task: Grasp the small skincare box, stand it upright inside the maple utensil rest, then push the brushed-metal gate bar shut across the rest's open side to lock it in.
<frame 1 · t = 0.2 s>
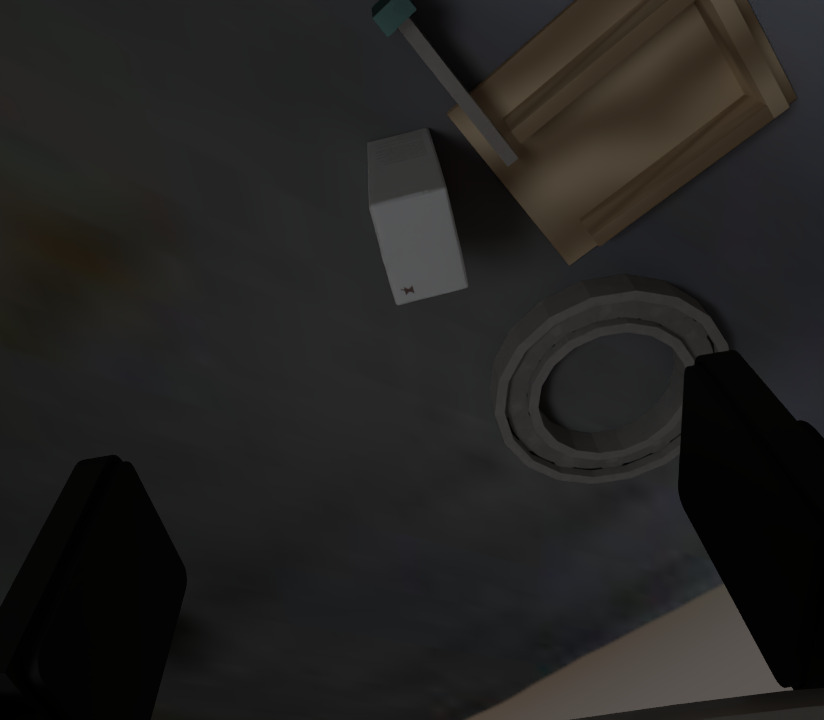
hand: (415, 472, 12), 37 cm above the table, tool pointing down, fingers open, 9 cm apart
mechanical component: (600, 373, 57), on the table
skincare box: (408, 175, 46), on the table
gate: (452, 84, 40), point 3 cm above the table, slide at 8.0 cm
rest: (648, 91, 44), on the table
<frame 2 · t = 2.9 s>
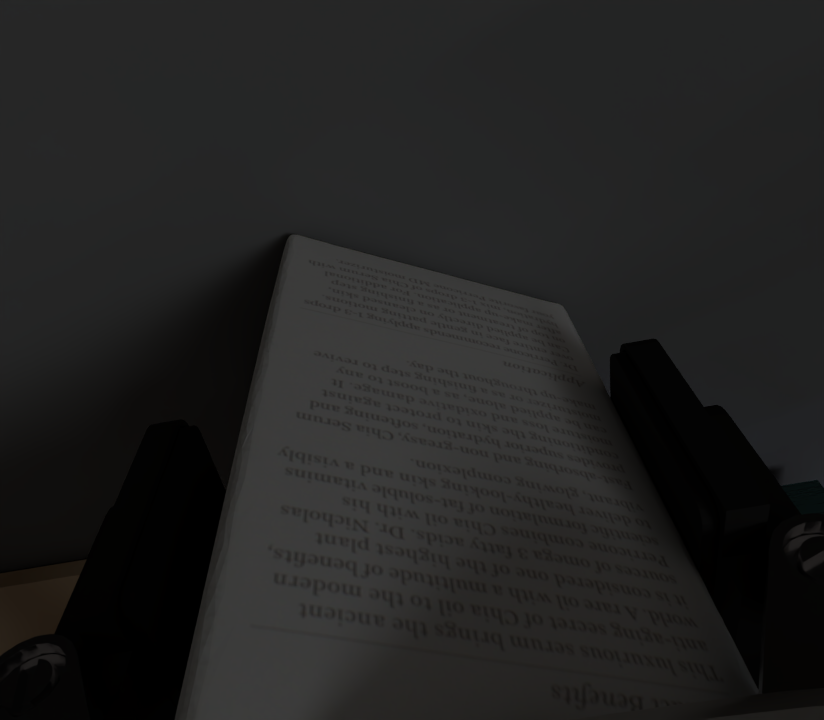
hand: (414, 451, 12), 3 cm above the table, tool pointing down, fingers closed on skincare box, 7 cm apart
skincare box: (406, 347, 15), on the table, touching gripper
gate: (603, 623, 16), point 3 cm above the table, slide at 8.0 cm
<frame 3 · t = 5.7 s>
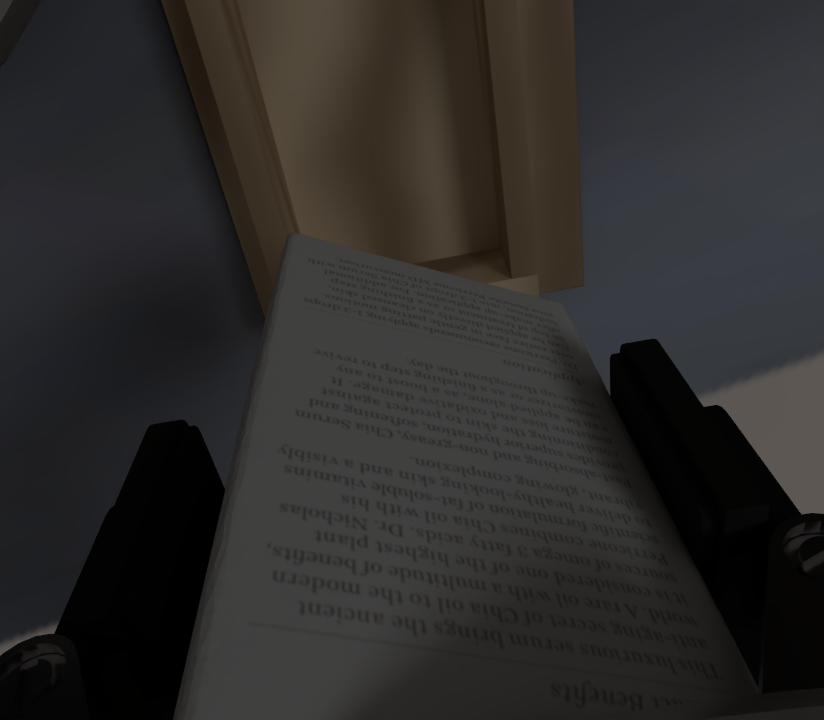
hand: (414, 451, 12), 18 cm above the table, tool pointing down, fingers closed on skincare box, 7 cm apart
skincare box: (405, 346, 15), point 14 cm above the table, touching gripper
rest: (385, 156, 27), on the table
when the fingers open (6 cm above the table, at t = 8.4 s): skincare box drops 2 cm, resting on rest.
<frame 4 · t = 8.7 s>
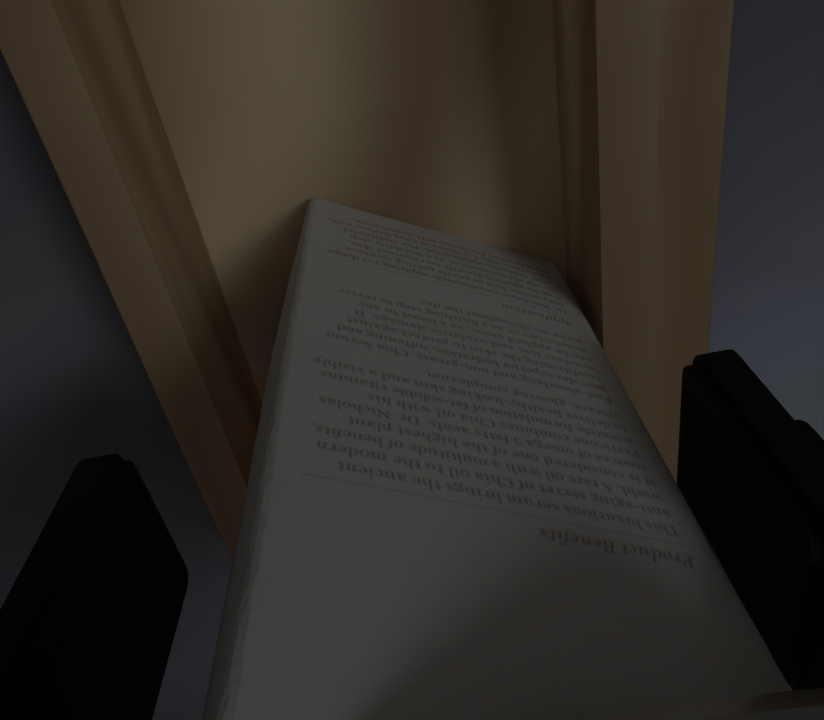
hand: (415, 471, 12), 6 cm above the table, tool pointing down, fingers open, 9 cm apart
skincare box: (414, 303, 17), resting on rest
rest: (400, 300, 17), on the table
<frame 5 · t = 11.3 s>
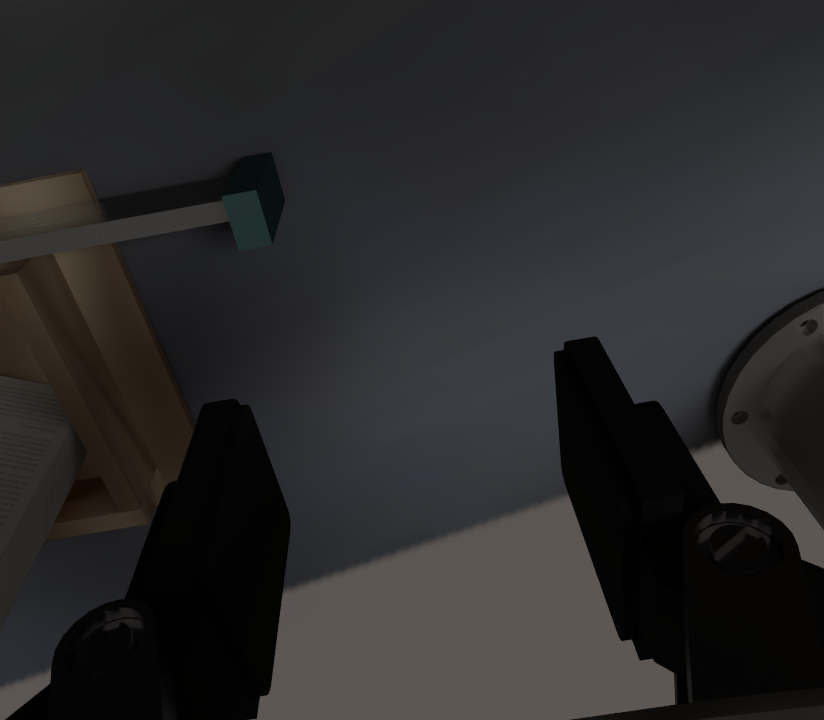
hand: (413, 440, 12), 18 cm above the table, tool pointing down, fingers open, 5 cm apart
skincare box: (30, 410, 33), resting on rest
gate: (120, 223, 26), point 3 cm above the table, slide at 8.0 cm
rest: (26, 408, 34), on the table
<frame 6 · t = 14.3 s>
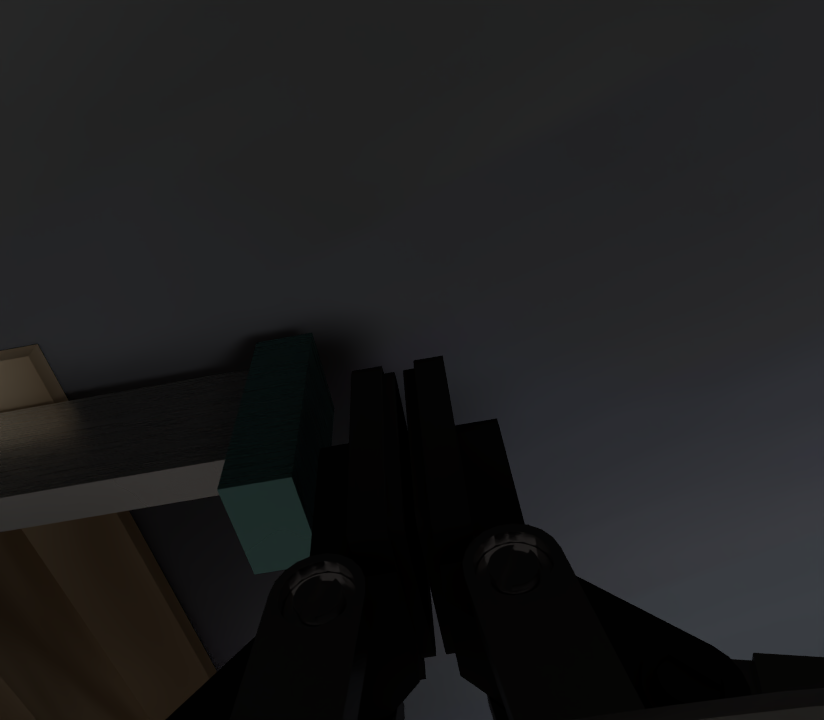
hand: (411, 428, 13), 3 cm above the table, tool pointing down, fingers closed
gate: (26, 486, 14), point 3 cm above the table, slide at 6.5 cm, touching gripper
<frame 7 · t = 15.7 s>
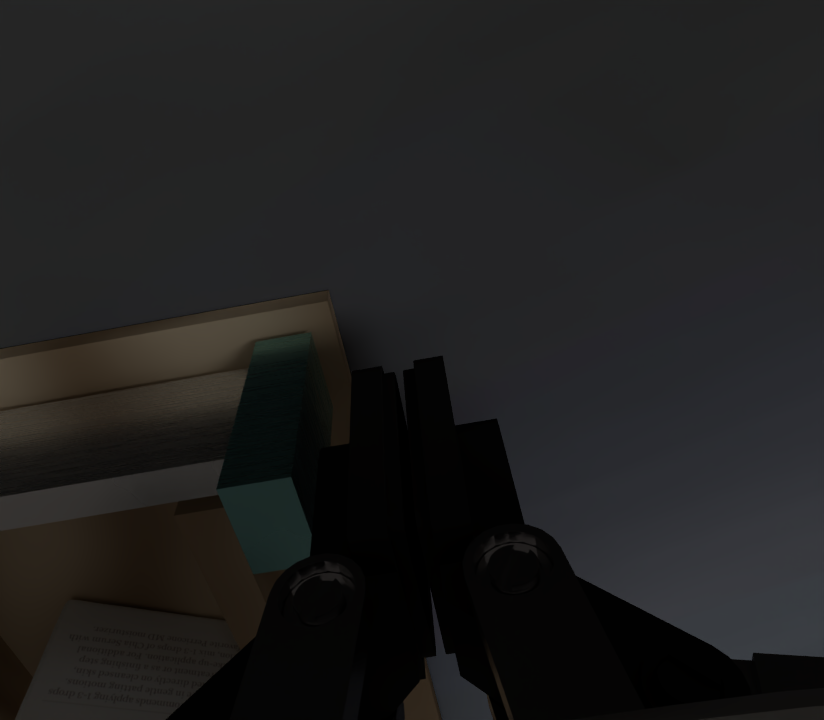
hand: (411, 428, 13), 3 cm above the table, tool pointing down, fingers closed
skincare box: (174, 648, 21), resting on rest
gate: (24, 485, 14), point 3 cm above the table, slide at -0.1 cm, touching gripper
rest: (166, 641, 21), on the table
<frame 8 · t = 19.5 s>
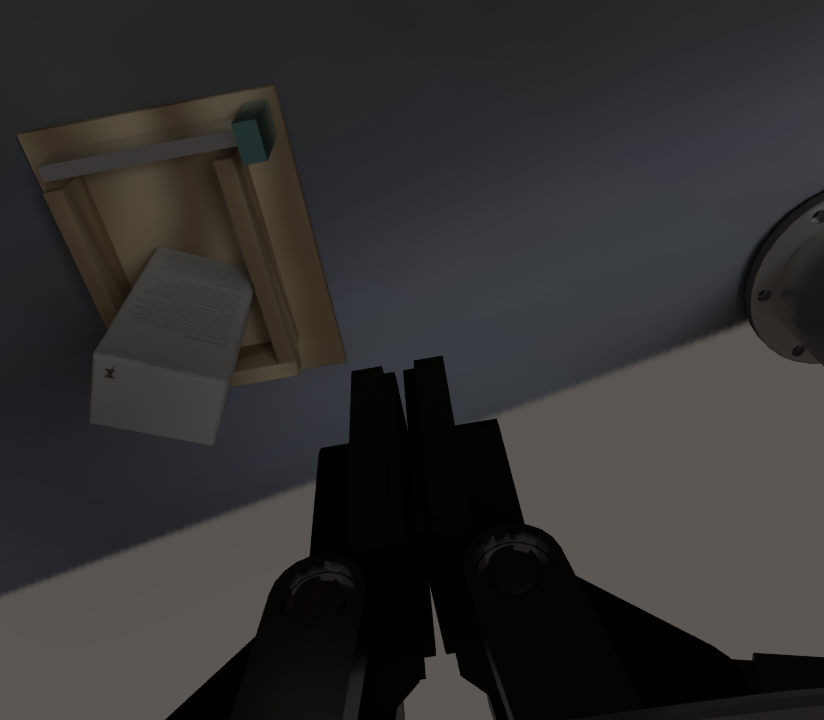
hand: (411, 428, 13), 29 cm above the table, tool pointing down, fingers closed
skincare box: (206, 285, 42), resting on rest
gate: (155, 149, 35), point 3 cm above the table, slide at 0.0 cm
rest: (201, 284, 43), on the table
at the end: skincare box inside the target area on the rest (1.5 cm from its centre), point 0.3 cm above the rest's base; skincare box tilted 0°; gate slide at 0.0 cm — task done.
